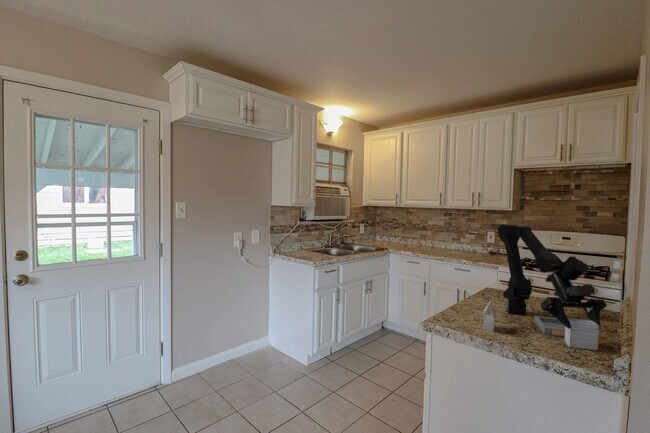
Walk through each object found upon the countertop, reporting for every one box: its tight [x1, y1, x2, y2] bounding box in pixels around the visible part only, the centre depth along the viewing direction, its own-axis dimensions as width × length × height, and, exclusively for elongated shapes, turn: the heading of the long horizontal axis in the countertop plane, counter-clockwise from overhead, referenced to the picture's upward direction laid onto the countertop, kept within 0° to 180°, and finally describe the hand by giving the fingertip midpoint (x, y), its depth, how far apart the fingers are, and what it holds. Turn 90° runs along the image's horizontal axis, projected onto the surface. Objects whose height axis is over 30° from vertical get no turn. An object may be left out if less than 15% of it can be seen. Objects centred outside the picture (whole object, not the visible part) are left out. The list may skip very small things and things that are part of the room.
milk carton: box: [482, 300, 496, 333], centre depth 121 cm, size 4×7×10 cm, turn 149°
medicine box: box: [564, 317, 600, 351], centre depth 106 cm, size 8×4×9 cm, turn 71°
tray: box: [533, 315, 565, 338], centre depth 120 cm, size 11×13×2 cm
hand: (584, 328), depth 105 cm, fingers open, 9 cm apart
